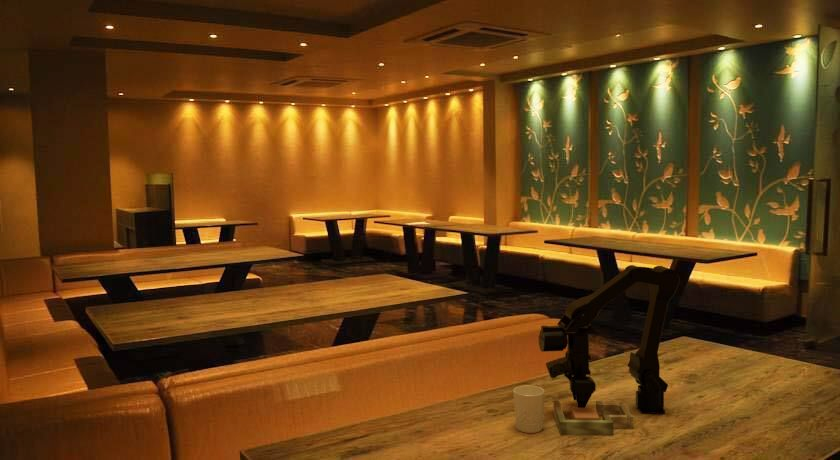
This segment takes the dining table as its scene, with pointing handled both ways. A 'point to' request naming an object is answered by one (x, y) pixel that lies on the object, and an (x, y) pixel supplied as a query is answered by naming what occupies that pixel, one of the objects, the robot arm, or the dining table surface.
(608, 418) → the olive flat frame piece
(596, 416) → the block
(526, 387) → the white cup
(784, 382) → the dining table surface
